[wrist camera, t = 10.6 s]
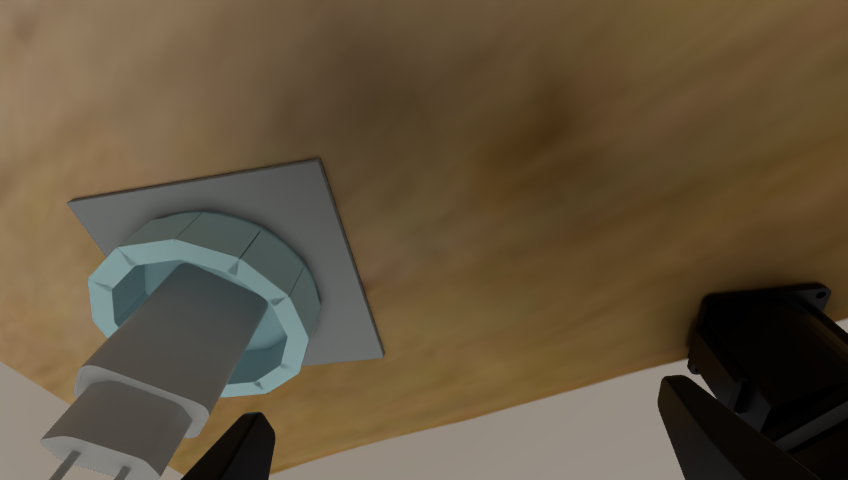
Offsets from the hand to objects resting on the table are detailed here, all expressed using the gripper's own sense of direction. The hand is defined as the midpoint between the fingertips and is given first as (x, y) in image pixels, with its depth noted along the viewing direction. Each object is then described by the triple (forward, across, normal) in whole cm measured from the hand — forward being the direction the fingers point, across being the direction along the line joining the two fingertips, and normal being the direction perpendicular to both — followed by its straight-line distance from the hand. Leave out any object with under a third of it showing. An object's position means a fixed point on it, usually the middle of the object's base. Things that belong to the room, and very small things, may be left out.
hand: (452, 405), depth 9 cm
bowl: (+13, +14, +5) cm, 19 cm away
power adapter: (+12, +14, +5) cm, 19 cm away
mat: (+13, +13, +5) cm, 19 cm away
